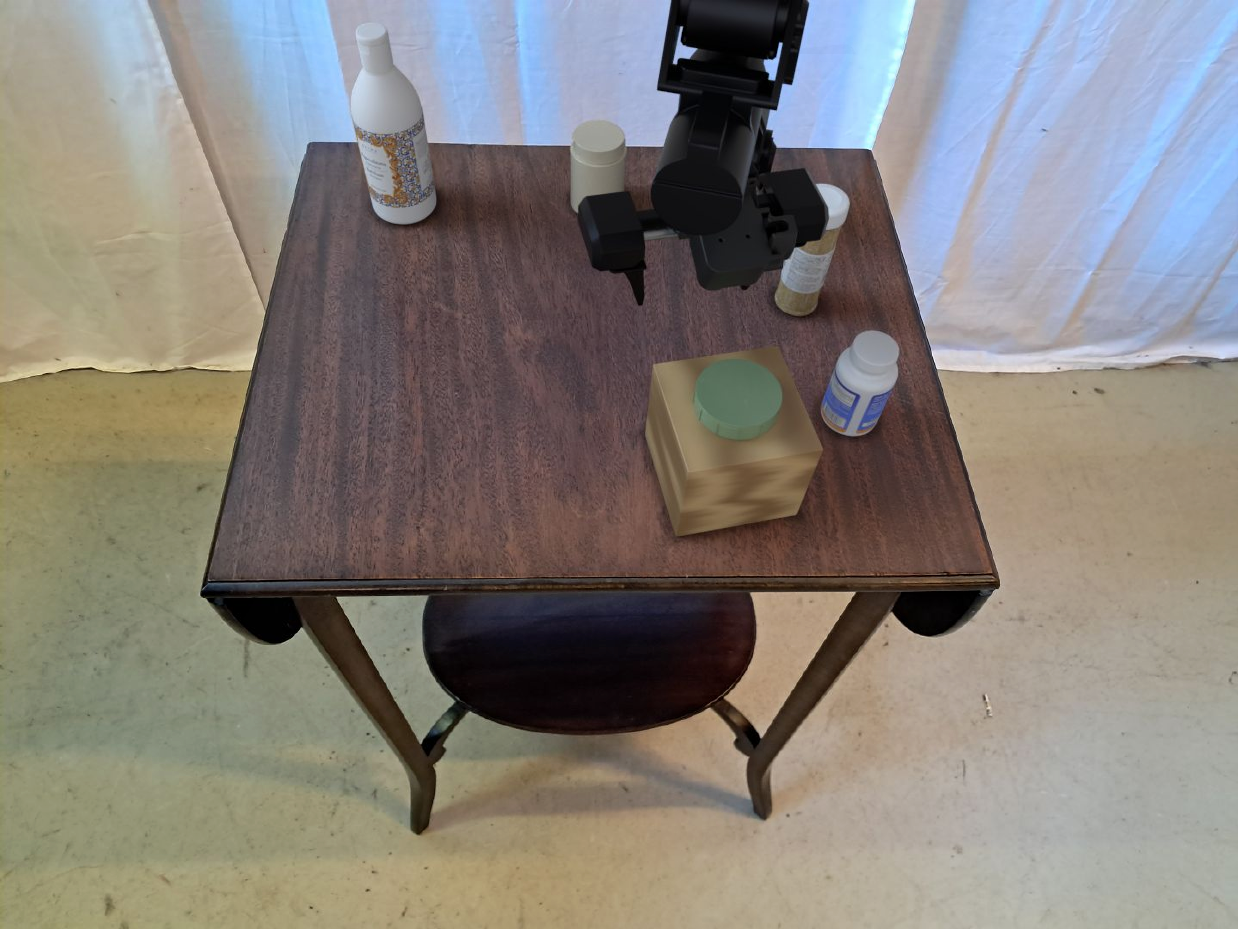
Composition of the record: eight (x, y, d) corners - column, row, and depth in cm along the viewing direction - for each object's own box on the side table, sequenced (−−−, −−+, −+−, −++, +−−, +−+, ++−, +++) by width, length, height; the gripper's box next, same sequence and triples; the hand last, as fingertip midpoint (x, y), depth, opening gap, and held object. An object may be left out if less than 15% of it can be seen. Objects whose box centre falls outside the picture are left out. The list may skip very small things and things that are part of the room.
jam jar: (617, 181, 101) (620, 115, 94) (629, 216, 98) (633, 150, 91) (565, 187, 100) (565, 120, 93) (576, 222, 97) (576, 156, 90)
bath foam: (360, 210, 96) (316, 34, 80) (400, 177, 100) (366, 1, 83) (410, 235, 95) (375, 60, 78) (449, 200, 98) (425, 25, 81)
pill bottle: (874, 396, 85) (906, 326, 77) (878, 441, 82) (911, 373, 74) (818, 390, 85) (843, 320, 77) (819, 435, 82) (846, 367, 74)
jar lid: (706, 446, 68) (709, 432, 67) (683, 379, 72) (685, 365, 71) (789, 432, 69) (794, 419, 68) (762, 367, 73) (766, 352, 72)
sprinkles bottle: (785, 280, 93) (814, 174, 82) (824, 298, 92) (859, 193, 81) (765, 306, 91) (792, 201, 80) (805, 324, 90) (838, 220, 79)
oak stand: (757, 416, 83) (778, 345, 75) (796, 515, 77) (823, 449, 69) (644, 434, 81) (652, 363, 73) (675, 537, 75) (688, 472, 67)
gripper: (612, 234, 56) (606, 385, 69) (882, 197, 59) (827, 348, 72) (576, 125, 62) (576, 284, 75) (823, 97, 65) (782, 254, 78)
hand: (691, 294), depth 75 cm, fingers open, 9 cm apart
